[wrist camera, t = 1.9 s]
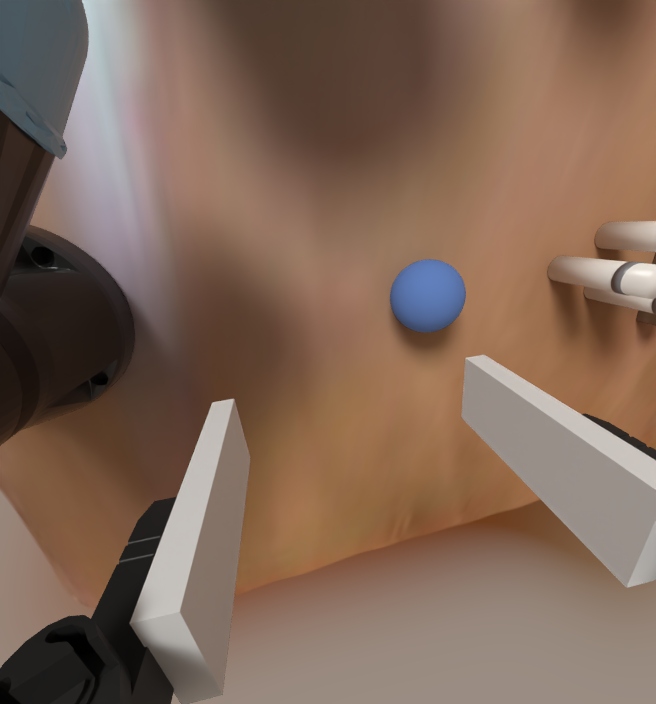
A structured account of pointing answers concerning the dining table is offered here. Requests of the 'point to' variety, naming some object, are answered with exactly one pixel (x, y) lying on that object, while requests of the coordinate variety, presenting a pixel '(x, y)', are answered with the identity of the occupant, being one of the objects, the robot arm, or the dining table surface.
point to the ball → (427, 295)
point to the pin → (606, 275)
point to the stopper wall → (647, 316)
